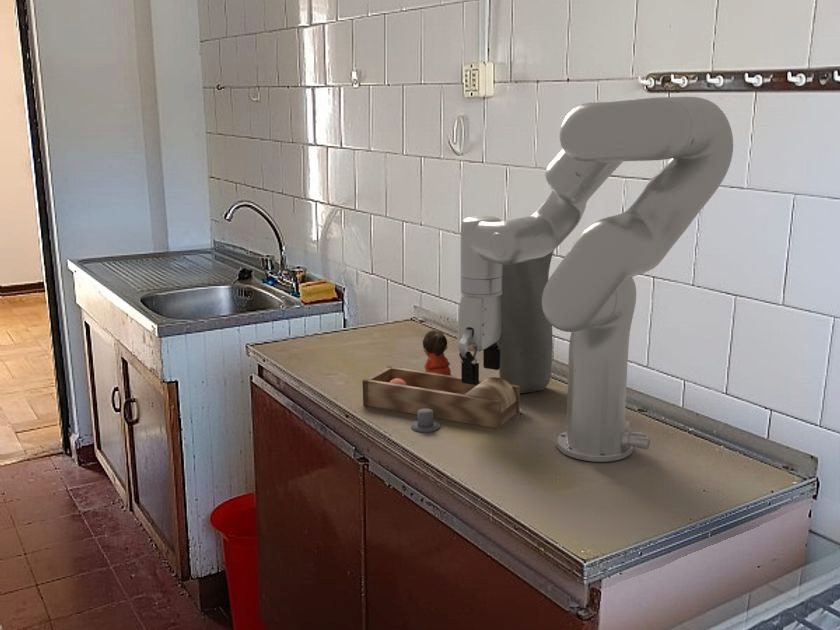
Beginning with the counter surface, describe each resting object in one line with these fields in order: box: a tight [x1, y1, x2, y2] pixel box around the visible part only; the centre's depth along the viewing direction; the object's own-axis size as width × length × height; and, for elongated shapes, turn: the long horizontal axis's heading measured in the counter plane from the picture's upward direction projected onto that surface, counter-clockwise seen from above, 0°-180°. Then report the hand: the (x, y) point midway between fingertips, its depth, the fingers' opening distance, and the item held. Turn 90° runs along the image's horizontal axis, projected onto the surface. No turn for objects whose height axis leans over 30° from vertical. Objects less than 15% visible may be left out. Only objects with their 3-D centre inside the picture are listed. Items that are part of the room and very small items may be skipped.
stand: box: [410, 409, 441, 433], centre depth 155 cm, size 5×5×3 cm
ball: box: [389, 378, 407, 385], centre depth 168 cm, size 4×4×4 cm
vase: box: [498, 250, 554, 395], centre depth 171 cm, size 12×12×30 cm
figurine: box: [422, 329, 452, 376], centre depth 176 cm, size 6×6×12 cm
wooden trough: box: [362, 365, 521, 429], centre depth 164 cm, size 28×10×8 cm, turn 62°
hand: (481, 376), depth 159 cm, fingers open, 9 cm apart
